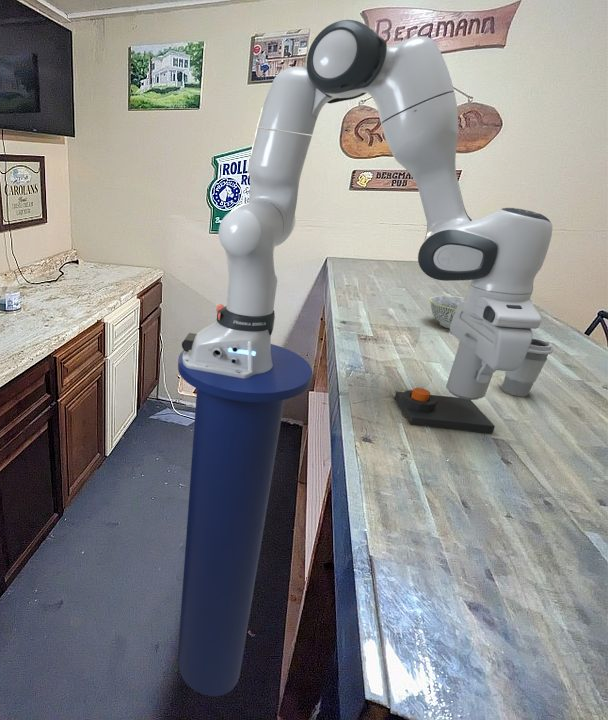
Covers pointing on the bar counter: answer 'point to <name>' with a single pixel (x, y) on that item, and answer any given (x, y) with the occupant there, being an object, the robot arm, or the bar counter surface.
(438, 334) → the bar counter surface
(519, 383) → the cup
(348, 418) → the bar counter surface
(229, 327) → the robot arm
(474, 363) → the beverage can
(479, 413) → the black flat block
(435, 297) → the bowl
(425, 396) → the tare button
